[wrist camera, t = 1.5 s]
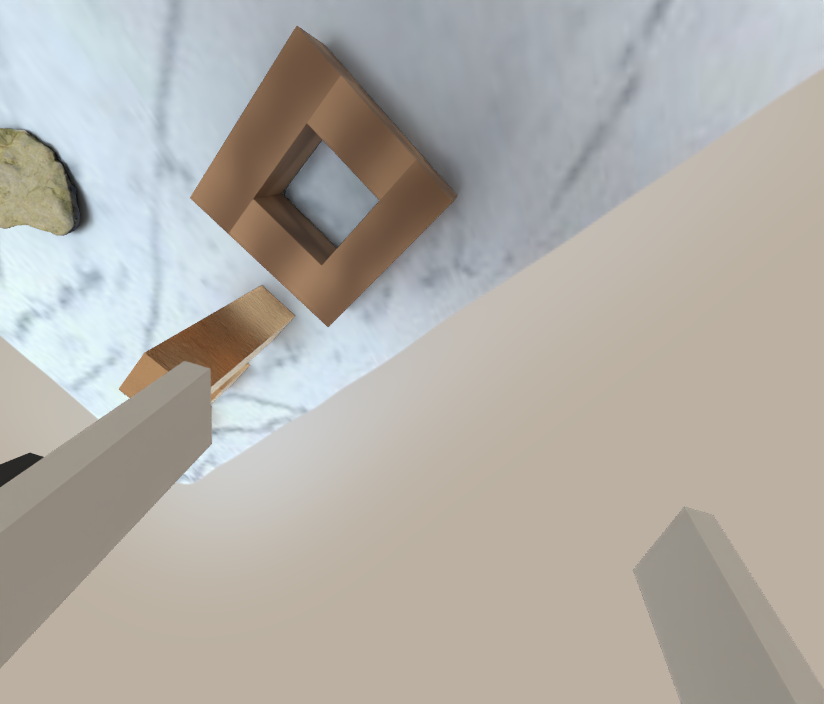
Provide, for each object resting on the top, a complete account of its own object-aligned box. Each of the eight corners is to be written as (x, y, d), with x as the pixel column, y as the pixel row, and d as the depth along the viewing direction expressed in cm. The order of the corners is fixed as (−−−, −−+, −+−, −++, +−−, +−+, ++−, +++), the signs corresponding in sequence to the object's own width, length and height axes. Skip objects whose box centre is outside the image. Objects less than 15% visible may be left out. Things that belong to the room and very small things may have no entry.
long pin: (239, 312, 38) (118, 389, 25) (261, 285, 36) (144, 352, 24) (271, 341, 38) (170, 429, 26) (295, 316, 37) (199, 396, 24)
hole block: (225, 192, 33) (189, 197, 29) (324, 44, 27) (296, 25, 23) (345, 308, 36) (328, 327, 32) (457, 195, 30) (453, 201, 26)
